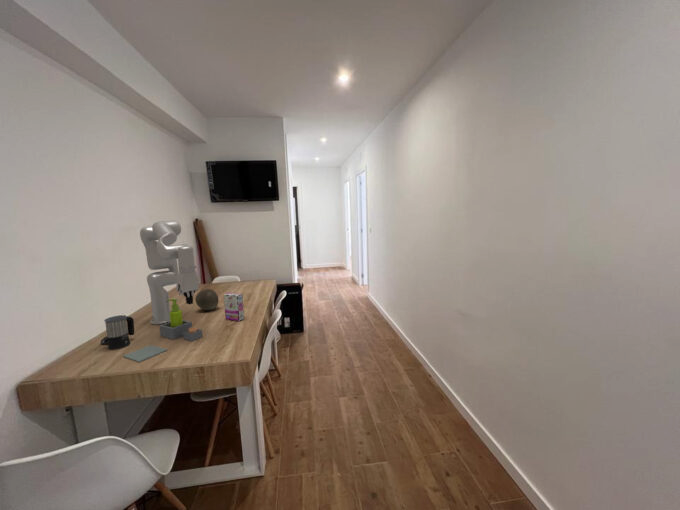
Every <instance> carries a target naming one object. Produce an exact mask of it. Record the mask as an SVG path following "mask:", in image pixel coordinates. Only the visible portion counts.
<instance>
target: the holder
mask: <svg viewBox="0 0 680 510" xmlns="http://www.w3.org/2000/svg"><path fill="white" fill-rule="evenodd" d="M182 320H183V324H182V325H180V326H177V327H174V328H172V327H171V323H170V322H168V323H164V324H159V333H160V334H159V335H160V337H162V336H163V337H162V338H165V337H166V339H169V338H170V340H173V339H174V340H176V338H177V339H179V338H183V339H184V340H185V339H186V340H185V341H189V342H194V341H196V339H197V340H199V339H201V338H203V332H202V331H203V330H202V329H199V328H197V331H196V332H194V333H189V330H188V329H189V328H191V327H193V322H192V321H190V320H185V319H182ZM178 337H179V338H178ZM198 338H199V339H198Z"/></svg>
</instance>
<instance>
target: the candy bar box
mask: <svg viewBox="0 0 680 510" xmlns="http://www.w3.org/2000/svg"><path fill="white" fill-rule="evenodd" d="M223 300H224V301H223V303H224V313H225V314H224V315H225V316H224V317H225V320H226V319H229V320H228V321H233V320H236V321H235V322H240V320H241V321H243V320H245V313H244V312H245V310H244V297H243V293H232V292H228V293H225V294H223ZM242 319H243V320H242Z"/></svg>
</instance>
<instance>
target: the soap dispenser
mask: <svg viewBox="0 0 680 510" xmlns="http://www.w3.org/2000/svg"><path fill="white" fill-rule="evenodd" d="M178 300H179V299H178V298H169V300H167V302H168V301H169V302H172V305H171V310H170V312H169V313H170V323H171V327H172V328H174V327H177V326H180V325H182V324H183V320H184V319H183V313H182V310H181V309H180V307H179V304H178V303H177V301H178Z"/></svg>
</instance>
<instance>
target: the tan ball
mask: <svg viewBox="0 0 680 510" xmlns="http://www.w3.org/2000/svg"><path fill="white" fill-rule="evenodd" d="M197 329H198V327H197V326H192V327H191V328H189V329H188V330H189V333H194V332H196V331H197Z"/></svg>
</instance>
